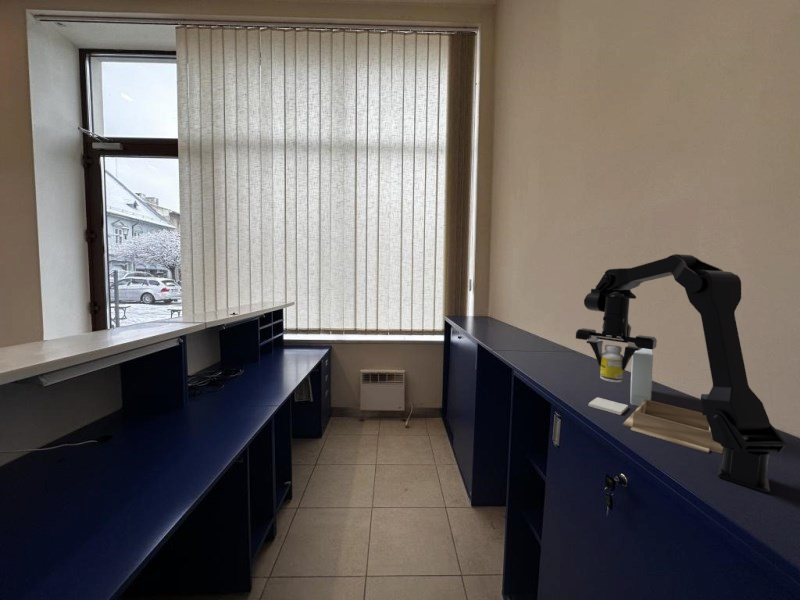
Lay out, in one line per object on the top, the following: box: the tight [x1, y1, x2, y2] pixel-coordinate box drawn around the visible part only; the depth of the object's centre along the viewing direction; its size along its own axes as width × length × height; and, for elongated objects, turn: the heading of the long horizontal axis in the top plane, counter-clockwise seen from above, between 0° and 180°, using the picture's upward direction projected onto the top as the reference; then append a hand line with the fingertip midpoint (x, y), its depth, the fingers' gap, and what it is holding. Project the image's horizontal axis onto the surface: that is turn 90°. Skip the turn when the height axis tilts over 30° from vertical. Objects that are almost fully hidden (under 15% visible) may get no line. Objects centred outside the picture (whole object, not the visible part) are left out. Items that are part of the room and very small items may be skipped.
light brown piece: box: [622, 399, 724, 455], centre depth 81 cm, size 18×18×4 cm
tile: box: [587, 396, 629, 416], centre depth 95 cm, size 8×8×1 cm
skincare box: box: [629, 348, 654, 407], centre depth 105 cm, size 21×6×16 cm, turn 144°
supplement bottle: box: [599, 344, 624, 383], centre depth 94 cm, size 5×5×10 cm
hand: (611, 367), depth 94 cm, fingers closed on supplement bottle, 5 cm apart
